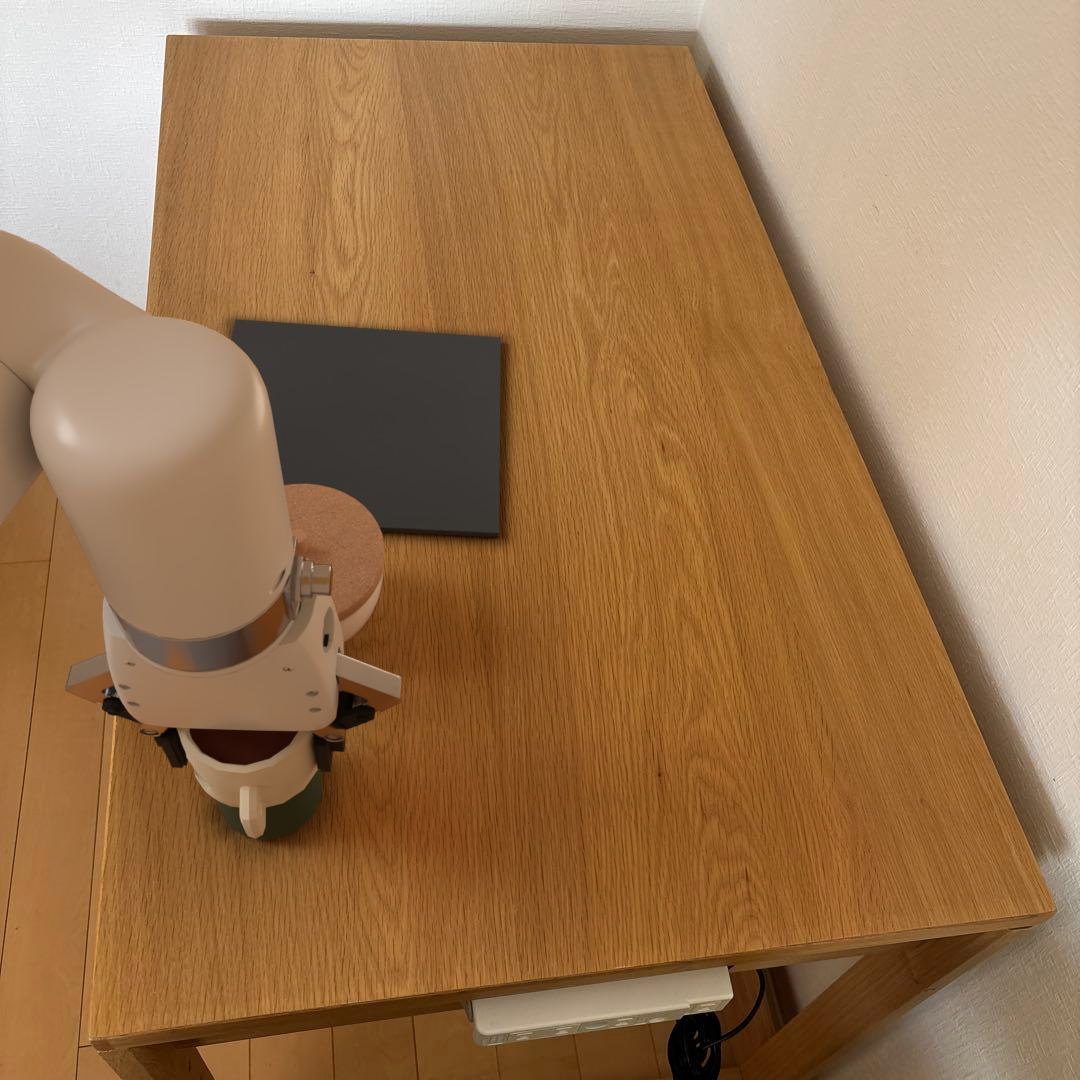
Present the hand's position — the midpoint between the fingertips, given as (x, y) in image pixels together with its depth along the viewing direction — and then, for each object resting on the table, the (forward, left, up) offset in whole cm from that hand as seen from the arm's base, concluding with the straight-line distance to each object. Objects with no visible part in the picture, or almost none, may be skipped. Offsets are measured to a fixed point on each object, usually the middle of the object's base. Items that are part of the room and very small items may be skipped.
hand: (256, 743), depth 57 cm
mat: (+3, +30, -8) cm, 31 cm away
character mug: (0, 0, -8) cm, 8 cm away
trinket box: (+1, +13, -8) cm, 16 cm away
